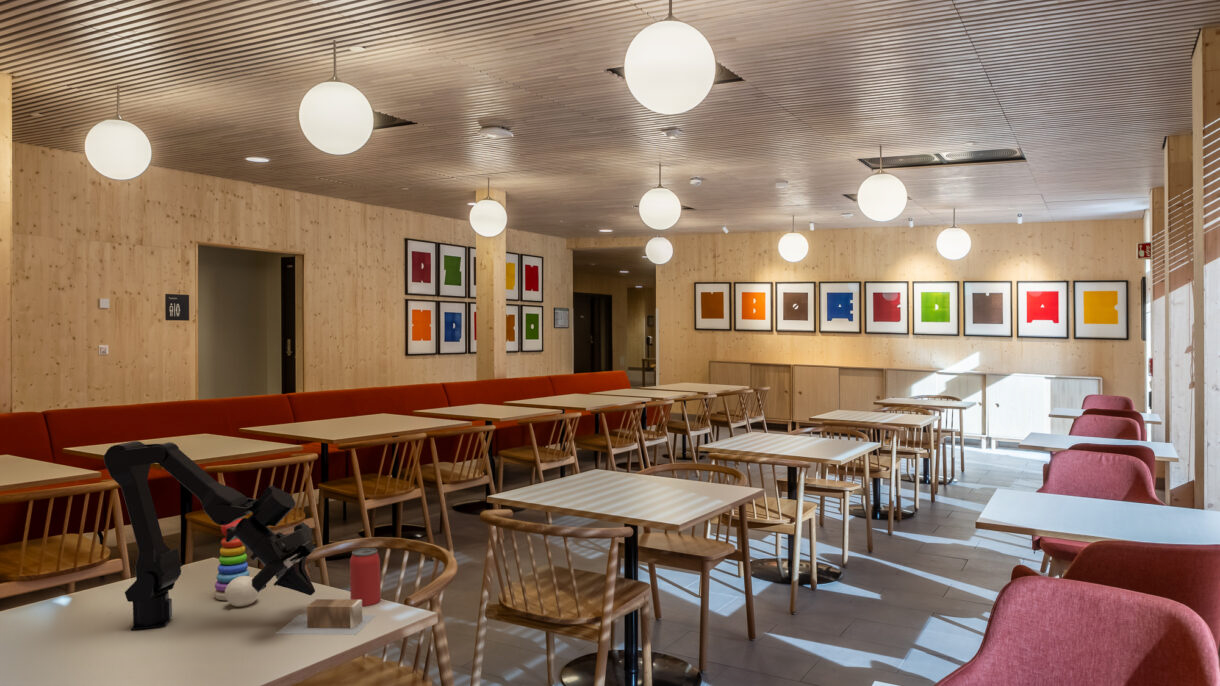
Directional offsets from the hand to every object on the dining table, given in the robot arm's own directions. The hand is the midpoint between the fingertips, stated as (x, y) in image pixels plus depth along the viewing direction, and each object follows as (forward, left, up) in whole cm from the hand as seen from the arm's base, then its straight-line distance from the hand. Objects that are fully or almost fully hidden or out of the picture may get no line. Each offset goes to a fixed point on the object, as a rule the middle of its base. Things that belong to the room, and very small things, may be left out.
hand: (313, 593), depth 171 cm
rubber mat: (+3, -1, -7) cm, 7 cm away
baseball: (-17, +19, -7) cm, 26 cm away
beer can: (+10, +11, -7) cm, 17 cm away
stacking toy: (-20, +27, -7) cm, 34 cm away
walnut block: (0, 0, -4) cm, 4 cm away
